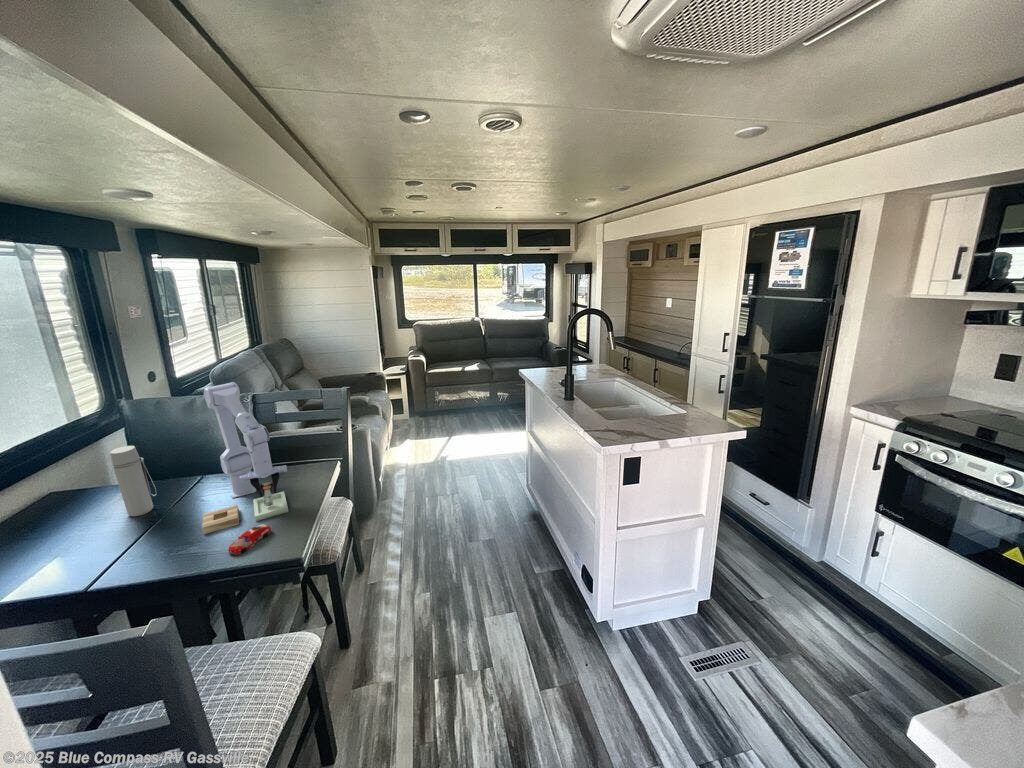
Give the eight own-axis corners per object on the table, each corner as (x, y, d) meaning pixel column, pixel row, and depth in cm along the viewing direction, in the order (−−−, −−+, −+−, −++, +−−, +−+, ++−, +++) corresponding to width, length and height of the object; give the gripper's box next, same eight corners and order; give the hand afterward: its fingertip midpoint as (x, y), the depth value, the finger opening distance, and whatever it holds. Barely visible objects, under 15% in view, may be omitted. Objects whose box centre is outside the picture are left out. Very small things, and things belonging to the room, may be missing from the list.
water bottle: (127, 520, 144) (107, 456, 137) (128, 511, 150) (108, 449, 143) (161, 510, 150) (143, 448, 143) (160, 501, 155) (143, 441, 149)
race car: (237, 558, 124) (234, 547, 123) (224, 554, 126) (222, 543, 125) (275, 533, 136) (272, 522, 135) (263, 529, 138) (261, 519, 137)
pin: (262, 503, 150) (260, 483, 148) (274, 500, 152) (272, 481, 150) (263, 508, 147) (260, 487, 145) (275, 505, 149) (272, 485, 147)
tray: (254, 504, 153) (253, 499, 152) (284, 495, 158) (283, 491, 158) (255, 521, 142) (254, 516, 142) (288, 511, 148) (287, 506, 147)
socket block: (205, 519, 144) (203, 513, 143) (238, 510, 149) (237, 504, 148) (203, 534, 136) (201, 527, 135) (239, 524, 141) (237, 517, 140)
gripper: (237, 470, 138) (245, 505, 142) (285, 459, 145) (291, 492, 149) (237, 462, 144) (244, 496, 147) (283, 452, 151) (289, 484, 155)
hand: (268, 494), depth 149 cm, fingers closed on pin, 4 cm apart
